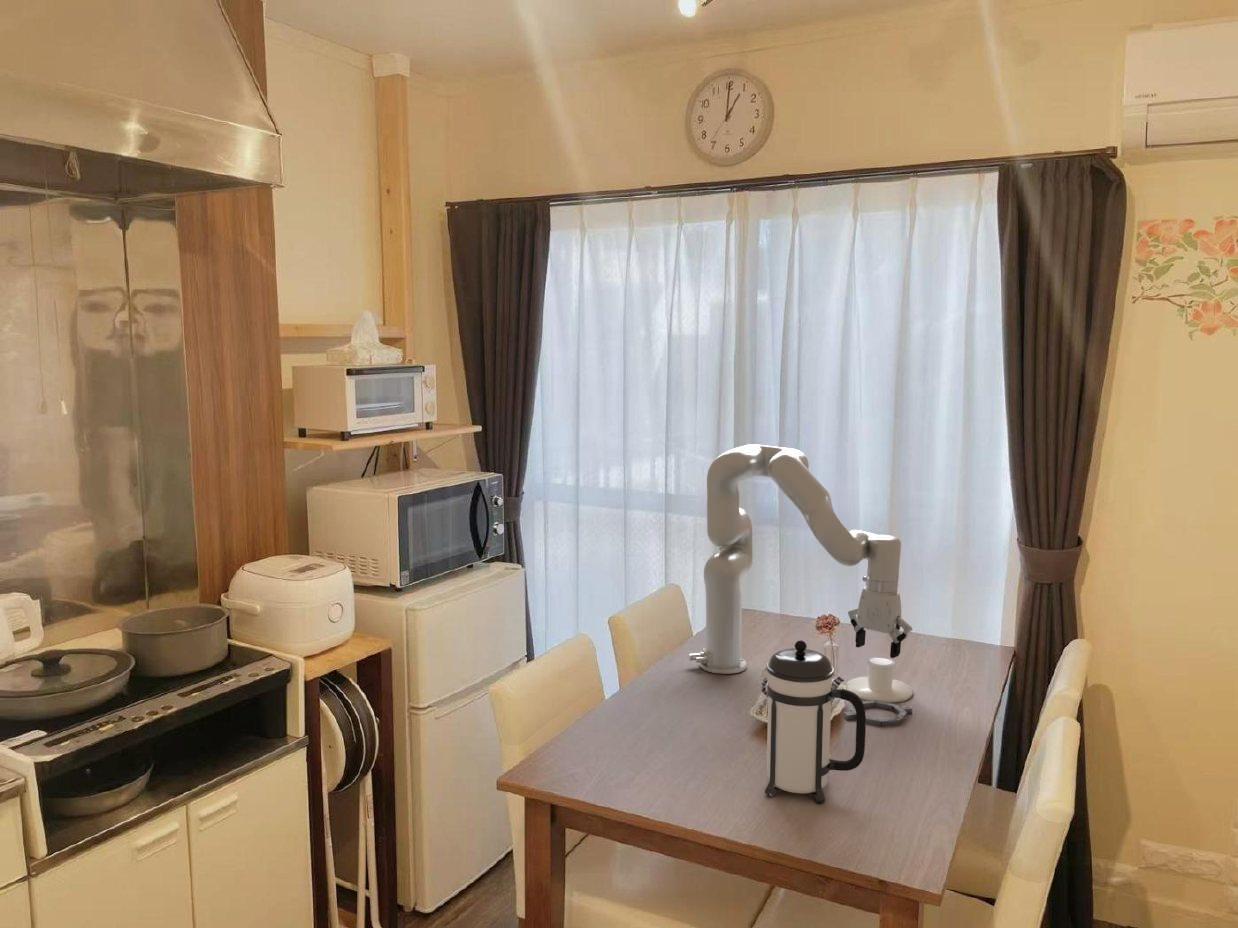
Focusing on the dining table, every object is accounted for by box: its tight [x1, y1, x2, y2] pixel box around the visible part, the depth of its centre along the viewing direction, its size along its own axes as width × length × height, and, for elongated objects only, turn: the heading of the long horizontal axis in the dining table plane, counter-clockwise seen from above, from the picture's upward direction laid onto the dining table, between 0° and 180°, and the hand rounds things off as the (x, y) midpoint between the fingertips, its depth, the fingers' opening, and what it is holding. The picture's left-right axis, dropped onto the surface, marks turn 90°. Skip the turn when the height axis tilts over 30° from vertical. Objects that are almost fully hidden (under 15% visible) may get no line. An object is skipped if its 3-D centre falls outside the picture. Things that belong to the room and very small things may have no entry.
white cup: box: [866, 656, 896, 692], centre depth 233 cm, size 7×7×7 cm
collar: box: [843, 700, 913, 727], centre depth 219 cm, size 17×12×1 cm
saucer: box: [846, 675, 913, 704], centre depth 234 cm, size 16×16×1 cm
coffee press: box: [759, 640, 867, 805], centre depth 182 cm, size 17×16×30 cm
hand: (877, 651), depth 233 cm, fingers open, 9 cm apart
